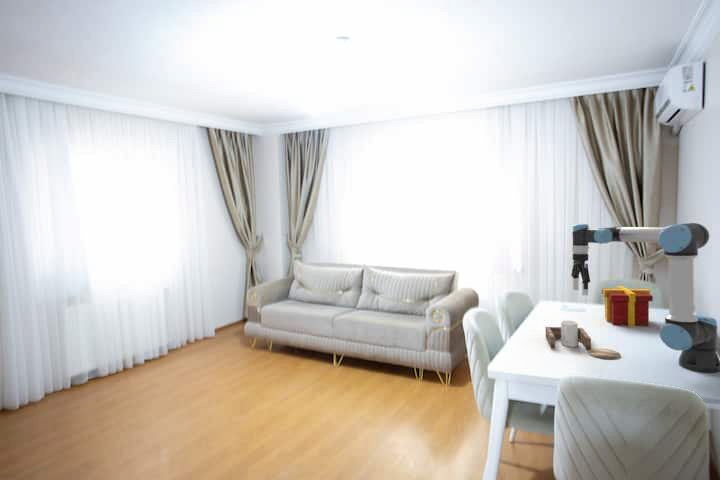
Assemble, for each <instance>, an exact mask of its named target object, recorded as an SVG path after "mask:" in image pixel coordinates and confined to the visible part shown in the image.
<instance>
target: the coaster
mask: <svg viewBox="0 0 720 480" xmlns="http://www.w3.org/2000/svg"><path fill="white" fill-rule="evenodd" d="M587 354H588V356H590V357H593V358H595V359H600V360H617V359H620V358H621V353H619V352H618V351H616V350H613V349H609V348H601V347H600V348H591V349H590V350H587Z"/></svg>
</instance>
